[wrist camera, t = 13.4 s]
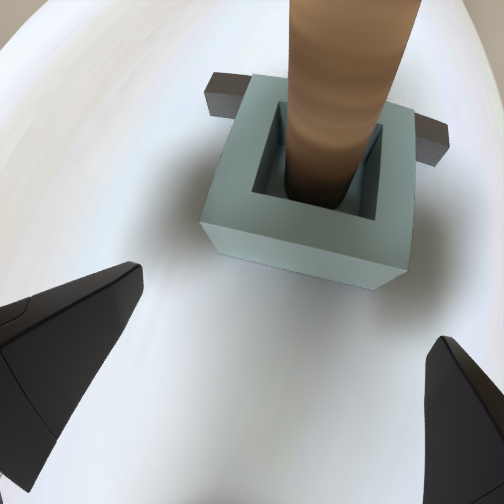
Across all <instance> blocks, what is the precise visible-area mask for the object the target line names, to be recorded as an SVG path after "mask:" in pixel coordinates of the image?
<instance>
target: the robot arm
mask: <svg viewBox="0 0 504 504" xmlns="http://www.w3.org/2000/svg"><path fill="white" fill-rule="evenodd" d="M143 289H144V284H143V269H142V266H141V265H140V264H138V263H134V262H131V261H128V262H125V263H122V264H119V265H116V266H113V267H111V268H108V269H105V270H102V271H99V272H96V273H93V274H91V275H88V276H85V277H82V278H79V279H77V280H74V281H71V282H68V283H65V284H63V285H60V286H57V287H54V288H52V289H49V290H46V291H44V292H41V293H38V294H35V295H33V296H32V297H27V298H25V299H22V300H19V301H17V302H14V303H11V304H8V305H5V306H2V307H0V478H1V476H2V474H3V475H5V476H6V477H7V478H9V479H10V480H11V481H12V482H14V483H15V484H16V485H18V486H19V487H20V488H22V489H23V490H25V491H26V492H27V493H29V492H30V491H31V489H32V487H33V485H34V483H35V481H36V479H37V477H38V475H39V473H40V472H41V470H42V468H43V466H44V464H45V462H46V460H47V458H48V457H49V455H50V453H51V451H52V449H53V447H54V446H55V444H56V442H57V440H58V438H59V436H60V435H61V433H62V431H63V429H64V428H65V426H66V424H67V422H68V421H69V419H70V417H71V415H72V414H73V412H74V410H75V409H76V407H77V405H78V403H79V402H80V400H81V398H82V397H83V395H84V393H85V392H86V390H87V388H88V387H89V385H90V384H91V382H92V380H93V379H94V377H95V375H96V374H97V372H98V371H99V369H100V367H101V366H102V364H103V363H104V361H105V359H106V358H107V356H108V355H109V353H110V352H111V350H112V348H113V347H114V345H115V344H116V342H117V341H118V339H119V337H120V336H121V334H122V333H123V331H124V329H125V327H126V325H127V323H128V321H129V319H130V317H131V315H132V313H133V311H134V309H135V307H136V305H137V303H138V301H139V299H140V297H141V296H142V293H143ZM424 415H425V475H424V493H423V504H504V395H503V394H502V392H501V391H500V390H499V389H498V388H497V386H496V385H495V384H494V383H493V382H492V381H491V379H490V378H489V377H488V376H487V375H486V374H485V373H484V371H483V370H482V369H481V368H480V367H479V366H478V365H477V364H476V363H475V361H474V360H473V359H472V358H471V357H470V356H469V355H468V354H467V353H466V352H465V350H464V349H463V348H462V347H461V346H460V345H459V344H458V343H457V342H456V341H455V340H454V339H453V338H452V337H448V336H440V337H439V338H438V339H437V340H436V342H435V344H434V345H433V347H432V348H431V350H430V351H429V353H428V355H427V357H426V363H425V397H424ZM0 504H3V501H2V497H1V493H0Z"/></svg>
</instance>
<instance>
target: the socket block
mask: <svg viewBox="0 0 504 504" xmlns="http://www.w3.org/2000/svg"><path fill="white" fill-rule="evenodd" d="M287 101H288V79H285V78H279V77H272V76H265V75H257V74H253V75H252V78H251V80H250V83H249V85H248V88H247V90H246V93H245V95H244V98H243V100H242V103H241V105H240V108H239V110H238V113H237V115H236V118H235V121H234V123H233V126H232V129H231V131H230V134H229V136H228V139H227V142H226V145H225V147H224V150H223V153H222V155H221V158H220V161H219V164H218V167H217V169H216V172H215V175H214V178H213V181H212V184H211V186H210V189H209V192H208V195H207V198H206V201H205V204H204V207H203V210H202V213H201V216H200V219H199V223H200V225H201V226H202V228H203V230H204V231H205V233H206V235H207V236H208V238H209V240H210V241H211V243H212V245H213V246H214V248H215V249H216V251H217V253H218V254H222V255H226V256H230V257H234V258H239V259H243V260H247V261H251V262H255V263H259V264H264V265H268V266H272V267H276V268H280V269H285V270H289V271H293V272H297V273H301V274H306V275H310V276H314V277H318V278H323V279H327V280H331V281H335V282H340V283H344V284H348V285H353V286H357V287H361V288H366V289H370V290H375V289H377V288H379V287H381V286H382V285H384V284H386V283H388V282H390V281H391V280H393V279H395V278H397V277H398V276H400V275H402V274H404V273H405V272H407V271H408V268H409V260H410V251H411V241H412V230H413V216H414V199H415V160H416V153H415V115H414V110H412V109H409V108H406V107H403V106H400V105H396V104H393V103H390V102H386V101H385V104H384V106H383V109H382V111H381V114H380V116H379V119H378V121H377V123H376V126H375V128H374V131H373V133H372V136H371V138H370V140H369V143H368V145H367V148H366V150H365V152H364V155H363V157H362V159H361V162H360V164H359V166H358V168H357V171H356V173H355V175H354V178H353V180H352V182H351V184H350V187H349V189H348V191H347V193H346V195H345V198H344V200H343V201H342V203H341V204H340V205H339V206H338V207H337V208H336V209H334V210H330V209H326V208H322V207H317V206H313V205H309V204H305V203H300V202H296V201H291V200H289V198H288V197H287V195H286V192H285V189H284V174H285V153H286V129H287Z"/></svg>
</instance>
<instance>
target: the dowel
mask: <svg viewBox="0 0 504 504" xmlns="http://www.w3.org/2000/svg"><path fill="white" fill-rule="evenodd" d="M420 4H421V0H290V9H289V67H288V101H287V129H286V153H285V174H284V189H285V192H286V195H287V197H288V198H289V200H291V201H296V202H300V203H305V204H309V205H313V206H317V207H322V208H326V209H330V210H334V209H336V208H337V207H338V206H339V205H340V204H341V203H342V201H343V200H344V198H345V195H346V193H347V191H348V189H349V187H350V184H351V182H352V180H353V178H354V175H355V173H356V171H357V168H358V166H359V164H360V162H361V159H362V157H363V155H364V152H365V150H366V148H367V145H368V143H369V140H370V138H371V136H372V133H373V131H374V128H375V126H376V123H377V121H378V119H379V116H380V114H381V111H382V109H383V106H384V104H385V101H386V99H387V96H388V93H389V91H390V88H391V86H392V83H393V80H394V78H395V75H396V72H397V70H398V67H399V64H400V62H401V59H402V56H403V53H404V51H405V48H406V45H407V42H408V39H409V36H410V34H411V31H412V28H413V25H414V22H415V19H416V16H417V13H418V10H419V7H420Z"/></svg>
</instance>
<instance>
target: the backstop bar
mask: <svg viewBox="0 0 504 504" xmlns="http://www.w3.org/2000/svg"><path fill="white" fill-rule="evenodd" d="M251 78H252V76H248V75H239V74H229V73H218V72H214V73H213V75H212V77H211V79H210V81H209V83H208V85H207V87H206V89H205V91H204V94H205V98H206V102H207V105H208V109H209V113H210V116H217V117H225V118H232V119H235V118H236V115H237V113H238V110H239V108H240V105H241V103H242V100H243V98H244V95H245V93H246V90H247V88H248V85H249V83H250V80H251ZM414 115H415V153H416V161H419V162H422V163H425V164H428V165H431V166H434V167H435V166H436V164H437V163H438V162H439V161H440V159H441V158H442V157H443V156H444V154H445V153H446V152H447V150H448V149H449V148H450V145H449V134H448V125H447V124H445V123H442V122H440V121H437V120H434V119H431V118H429V117H426V116H423V115H420V114H417V113H414Z"/></svg>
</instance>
